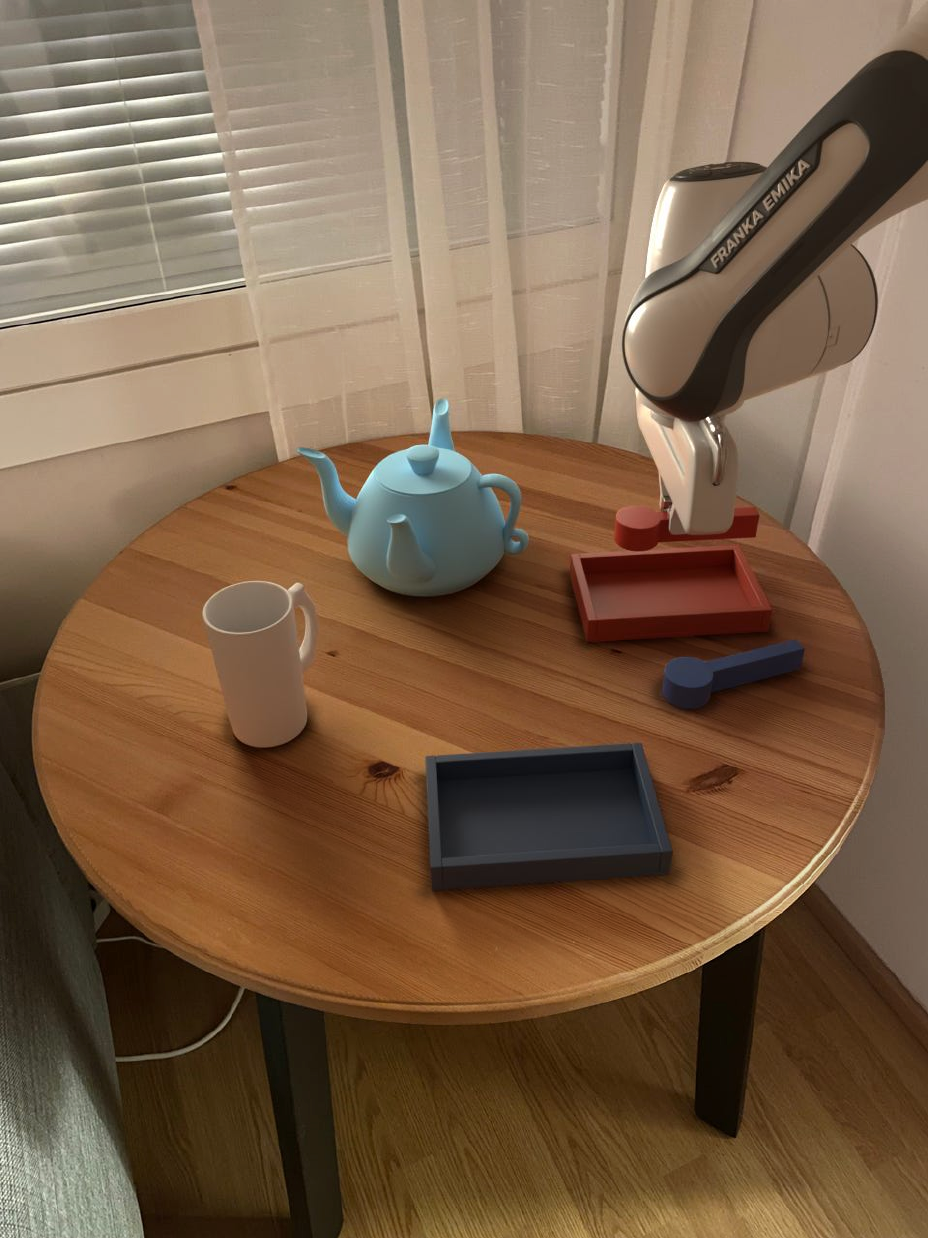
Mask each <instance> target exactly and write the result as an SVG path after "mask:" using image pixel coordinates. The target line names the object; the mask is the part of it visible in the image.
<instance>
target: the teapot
mask: <svg viewBox="0 0 928 1238" xmlns="http://www.w3.org/2000/svg"><path fill="white" fill-rule="evenodd" d="M450 425H451V423H450V404H449V400H448V399H446V398H439V399H438V400H436V402H435V404H434V406H433V411H432V421H431V427H430V433H429V439H428V444H417V445H413V446H410V447H409V448H406V449H402V450H398V451H395V452H394V453H391V454H389V455H387V456H386V457H384V458H383V459H382V460H380V461H379V462H378V464H376V466H375V467H374V469H373V470H372V471H371V473H370V474H369V476H368V478H367V479H366V481H365V482H364V484H363V486H362V488H361V489H360V490H359V493H358V495H357V497H356V498H354V497H352V496H351V495H349V494H348V493H347V492H346V491H345V490H344V488H343V487H342V485H341V482H340V479H339V475H338V471H337V468H336V466H335V464H334V462H333V461H332V459H330V457H329V456H328V455H326V454H325V453H323V452H322V451H319V450H317V449H314V448H309V447H303V446H302V447H301V446H300V447H297V448H296V451H297V453H299V454H300V455H301V456H302V457H303V458H305V459H306V460H307V461H308V462H310V464H311V465H312V466H313V468H314V469H315V470H316V473H317V475H318V477H319V481H320V485H321V492H322V500H323V506H324V510H325V512H326V516H327V518H328V520H329V521H330V523H331V525H333V526H334V528H335V529H336V530H337V531H338V532H340V533H341V534H343V535H344V536H345V537H346V538H347V540H346V541H347V550H348V554H349V557H350V560H351V561H352V563H353V565H354V566H355V567H356V569H357V570H358V571H359V572H360V573H361V574H362V575H364V576H365V577H366V578H368V579H369V580H370V581H371V582H373V583H375V584H377V585H379V586H380V587H381V588H383V589H384V590H387V591H390V592H393V593H396V594H400V595H405V596H411V597H437V596H438V597H439V596H446V595H450V594H454V593H457V592H460V591H463V590H465V589H468V588H469V587H471V586H473V585H475V584H477V583H478V582H479V581H481V580H482V579H483V578H485V577H486V575H488V574H489V573H490V572H492V570H493V569H494V568H495V567H496V566H497V565H498V563H499V562H500V561H501V559H502V557H503V556H504V553H506V554H509V555H519V554H521V553H523V552H525V551H527V549H528V547H529V544H530V539H529V537H530V536H529V535H528V533H527V532H526V531H525V530H523V528H522V529H521V528H515V527H516V524H517V521H518V518H519V515H520V512H521V507H522V500H523V499H522V491H521V489H520V487H519V485H518V484H517V483H516V482H515V481H514V480H513V479H511V478H510V477H508V476H506V475H503V474H500V473H487V474H482V473H481V472H480V470H478V468H477V467H476V466H475V465H474V464H473V463H472V462H471V460H469V459H468V458H467V457H466V456H464V455H463V454H461V453H459V452H457V451H456V448H455V445H454V440H453V437H452V433H451V426H450ZM492 488H495V489H499V490H501V491H504V492H505V493H506V494H507V495H508V496H509V498H510V505H509V506H510V507H509V512H508V514H507V517H506V520H505V515H504V513H503V510H502V506H501V504H500V501H499V500H498V498H497V495H496V493H495V492H494V491H493V489H492ZM512 538H515V539H517V540H519V541H515V540H513V539H512Z"/></svg>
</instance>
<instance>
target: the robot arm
mask: <svg viewBox="0 0 928 1238" xmlns="http://www.w3.org/2000/svg"><path fill="white" fill-rule="evenodd" d="M925 201H928V0H926V2H925V3H924V4H923V5H922V6H921V7H920V8H919V9H918V11H916V12H915V14H914V15H913V16H912V17H911V18H910V19H909V20H908V21H907V23H906V24H904V26H903V27H901V29H899V31H898V32H897V33H896V34H895V35H893V37H892V38H891V39H890V40H889V41H888V42H887V43H886V44H885V45H884V46H883V47H882V48H881V49H880V50H879V51H877V52H876V54H875V55H874V56H873V57H872V58H871V59H870V60H868V62H867V63H866V64H865V65H864V66H863V67H862V68H860V69H859V70H858V71H857V72H856V73H855V75H853V76H852V78H850V80H849V81H847V82H846V84H844V85H843V87H842V88H840V89H839V90H838V91H837V92H836V93H835V94H834V95H833V96H832V97H831V98H830V99H829V100H828V101H827V102H826V103H825V104H824V105H823V106H822V107H821V108H820V109H819V110H818V111H817V112H816V113H815V114H814V116H812V117H811V119H810V120H809V121H808V122H807V123H806V124H805V125H804V126H802V128H801V129H800V130H799V131H798V132H797V134H796V135H795V136H794V137H793V138H792V139H791V140H790V141H789V143H788V144H786V146H785V147H784V148H783V149H782V151H780V153H778V154H777V156H776V157H775V158H774V159H773V160H772V162H770V164H769V165H768V166H765V165H763V164H760V163H757V162H752V161H725V162H723V163H722V162H721V163H709V164H704V165H699V166H698V165H697V166H695V167H689V168H685V169H683V170H679V172H676V173H675V174H673V176H671V177H670V178H669V179H667V180H666V181H665V183H664V185H663V187H662V189H661V191H660V194H659V196H658V199H657V203H656V205H655V206H656V207H655V210H654V215H653V220H652V224H651V229H650V234H649V235H650V236H649V241H648V242H649V243H648V249H647V259H646V268H645V278H644V279H643V281H642V282H641V283H640V285H638V288H637V290H636V292H635V294H634V295H633V298H632V300H631V302H630V305H629V308H628V309H627V313H626V316H625V319H624V323H623V330H622V336H621V352H622V353H621V354H622V358H623V364H624V367H625V370H626V373H627V374H628V377H629V379H630V381H631V382H632V384H633V385H634V386H635V397H636V401H635V402H636V406H635V407H636V417H637V424H638V428H639V430H640V432H641V434H642V436H643V439H644V441H645V443H646V445H647V448H648V450H649V452H650V455H651V457H652V459H653V462H654V464H655V466H656V468H657V470H658V471H657V472H658V481H659V491H660V495H659V496H660V498H659V509H660V512H666V511H668V512H667V522H666V523H667V525H668V528H669V531H670V533H671V534H673V535H676V534H686V533H687V534H689V535H709V534H721V533H725V532H727V531H728V529H729V528H730V527H731V525H732V523H733V518H734V510H735V508H736V502H737V501H736V499H737V492H738V481H739V480H738V479H739V465H740V464H739V463H740V462H739V461H740V460H739V459H740V458H739V450H738V446H737V444H736V443H737V442H736V441H735V439H734V437H733V435H732V434H731V432H730V430H729V428H728V426H727V425H726V423H725V421H726V419H727V416H728V415H730V414H732V413H735V412H736V411H737V410H739V409H741V407H742V406H743V405H744V403H745V401H747V400H752V399H754V398H757V397H760V396H763V395H765V394H769V393H771V392H775V391H777V390H780V389H784V388H786V387H789V386H792V385H795V384H797V383H799V382H802V381H805V380H808V379H811V378H813V377H817V376H819V375H822V374H825V373H828V372H830V371H833V370H836V369H837V368H839V367H841V366H843V365H846V364H848V363H850V362H851V361H853V360H854V359H856V358H857V357H858V356H859V355H860V354H861V353H862V352H863V350H864V349H865V347H866V346H867V344H868V342H869V341H870V338H871V336H872V334H873V331H874V329H875V326H876V321H877V317H878V310H879V309H878V308H879V294H878V287H877V282H876V278H875V275H874V271H873V269H872V267H871V265H870V263H869V262H868V260H867V258H866V257H865V256H864V254H862V252H861V251H860V250H859V248H857V247H856V246H855V245H853V243H855V242H856V241H857V240H859V239H860V238H861V237H863V236H864V235H866V234H867V233H868V232H870V231H871V230H873V229H874V228H875V227H877V226H879V225H880V224H882V223H884V222H886V221H887V220H889V219H891V218H892V217H895V216H896V215H897V214H900V213H902V212H904V211H905V210H908V209H909V208H912V207H914V206H916V205H919V204H921V203H922V202H925Z"/></svg>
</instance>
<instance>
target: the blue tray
mask: <svg viewBox="0 0 928 1238" xmlns="http://www.w3.org/2000/svg"><path fill="white" fill-rule="evenodd" d="M424 759H425V760H424V761H425V781H426V800H427V822H428V823H427V824H428V845H429V864H430V865H429V866H430V881H431V883H430V884H431V890H432V892H433V891H448V890H450V891H451V890H463V889H477V888H491V887H492V888H493V887H506V886H508V887H509V886H522V885H524V886H525V885H537V884H551V883H553V884H554V883H565V882H567V883H568V882H581V881H595V880H610V879H624V878H625V879H626V878H641V877H653V876H667V875H668V876H669V875H670V874H671V873H670V872H671V866H672V859H673V848H672V844H671V840H670V837H669V833H668V830H667V827H666V823H665V820H664V816H663V812H662V810H661V805H660V803H659V799H658V795H657V791H656V788H655V785H654V782H653V778H652V774H651V771H650V768H649V764H648V760H647V757H646V754H645V750H644V747H643V743H642V742H631V743H630V742H629V743H613V744H597V745H579V746H565V747H563V746H562V747H549V748H535V749H534V748H533V749H518V750H503V751H501V750H499V751H486V752H484V751H483V752H470V753H469V752H467V753H454V754H453V753H452V754H439V755H426V756H425V757H424Z"/></svg>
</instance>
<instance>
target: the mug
mask: <svg viewBox="0 0 928 1238" xmlns="http://www.w3.org/2000/svg"><path fill="white" fill-rule="evenodd" d="M298 607H299V609H301V610H302V612H303V615H304V619H305V627H304V628H305V631H304V637H303V640H302V642H301V645H300V646H299V637H298V629H297V622H296V614H295V609H296V608H298ZM201 614H202V619H203V621H204V627H205V631H206V636H207V639H208V644H209V647H210V651H211V655H212V659H213V663H214V666H215V669H216V674H217V679H218V681H219V685H220V689H221V693H222V694H221V695H222V697H223V701H224V704H225V709H226V713H227V716H228V717H227V718H228V720H229V724H230V727H231V730H232V732H233V735H234V736H235V737H236V739H237V740H238V741H240V742H241V743H243V744H245V745H247V746H250V747H254V748H273V747H278V746H282V745H284V744H286V743H289V742H291V741H292V740H293V739H295V738H296V737H297V736H299V735H300V734H301V733H302V732H303V730H304V728H305V727H306V725H307V722H308V708H307V698H306V691H305V690H306V689H305V684H304V677H303V674H304V673H305V672H306V671H307V670H309V669H310V668H311V667H313V665H314V664H315V659H316V651H317V644H318V637H319V636H318V635H319V617H318V616H319V615H318V610H317V607H316V604H315V603H314V601H313V599H312V598H311V596H310V595H309V594H308V592H307V591H306V588H305V586H304V585H303V584H302V583H300V582H295V583H294V584H293V585H292V586H291V587H289V588H288V589H286V587H283V586H282V585H280V584H277V583H274V582H271V581H266V580H265V581H264V580H250V581H243V582H238V583H235V584H231V585H228V586H226V587H224V588H222V589H220V590H219V591H217V592H215V593H214V594H213V595H211V597H209V599H207V601H206V602H205V604H204V605H203V608H202V613H201Z"/></svg>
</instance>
